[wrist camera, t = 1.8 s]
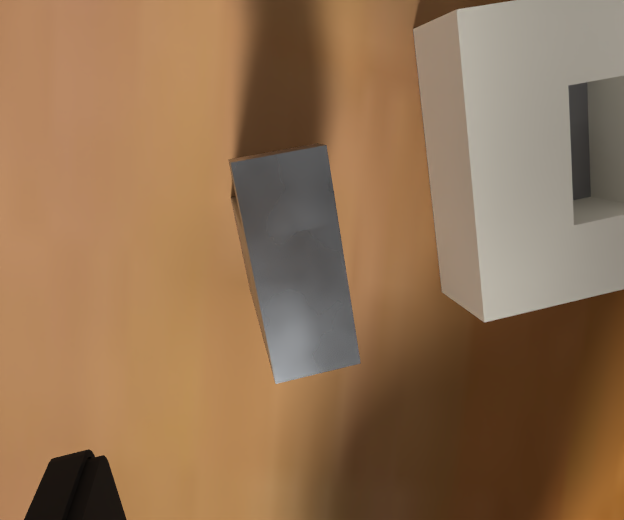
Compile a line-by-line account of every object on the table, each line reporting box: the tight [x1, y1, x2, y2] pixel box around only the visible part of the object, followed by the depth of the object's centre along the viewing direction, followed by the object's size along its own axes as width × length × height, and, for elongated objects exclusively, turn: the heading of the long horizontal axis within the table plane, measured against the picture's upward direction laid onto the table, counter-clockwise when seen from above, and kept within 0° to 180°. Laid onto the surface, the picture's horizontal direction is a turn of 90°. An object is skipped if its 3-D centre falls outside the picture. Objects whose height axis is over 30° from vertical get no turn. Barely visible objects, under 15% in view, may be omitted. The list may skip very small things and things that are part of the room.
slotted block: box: [413, 0, 624, 323], centre depth 28 cm, size 14×14×5 cm
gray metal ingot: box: [229, 143, 360, 384], centre depth 23 cm, size 8×3×11 cm, turn 9°
